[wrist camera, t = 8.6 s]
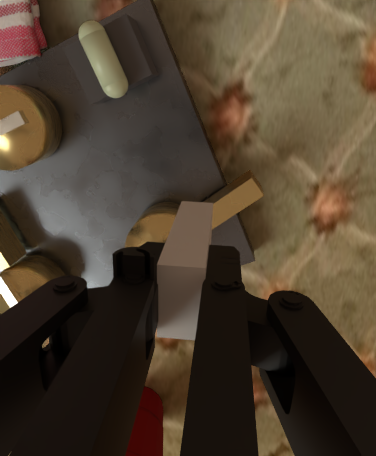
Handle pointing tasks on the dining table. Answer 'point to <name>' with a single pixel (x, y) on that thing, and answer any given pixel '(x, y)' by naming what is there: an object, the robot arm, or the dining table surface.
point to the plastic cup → (147, 427)
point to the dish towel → (20, 31)
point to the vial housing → (110, 58)
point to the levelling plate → (112, 160)
